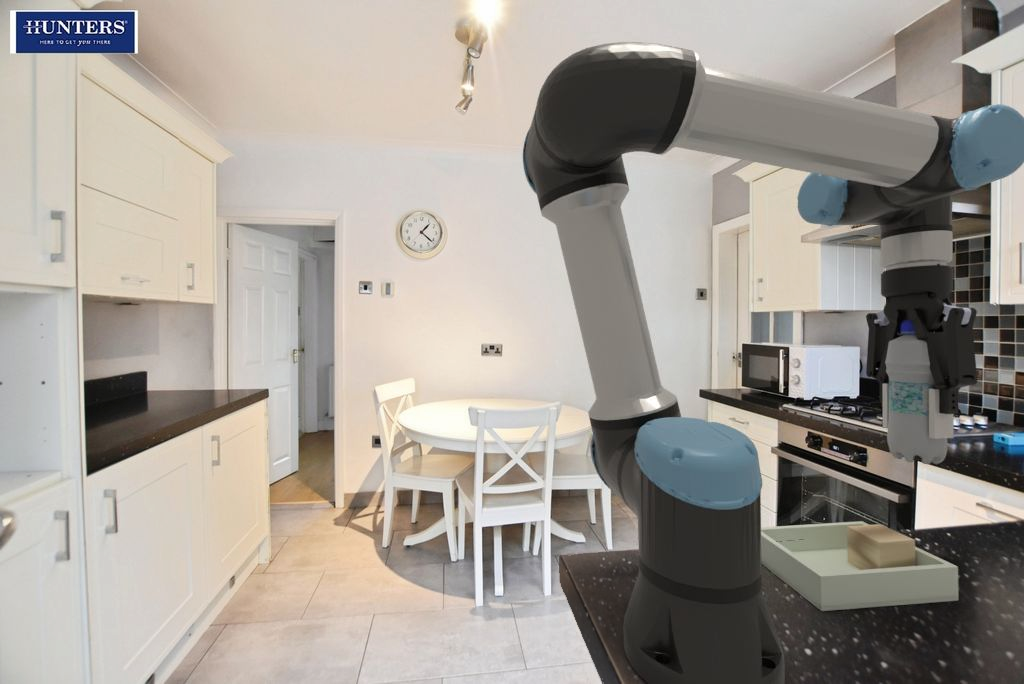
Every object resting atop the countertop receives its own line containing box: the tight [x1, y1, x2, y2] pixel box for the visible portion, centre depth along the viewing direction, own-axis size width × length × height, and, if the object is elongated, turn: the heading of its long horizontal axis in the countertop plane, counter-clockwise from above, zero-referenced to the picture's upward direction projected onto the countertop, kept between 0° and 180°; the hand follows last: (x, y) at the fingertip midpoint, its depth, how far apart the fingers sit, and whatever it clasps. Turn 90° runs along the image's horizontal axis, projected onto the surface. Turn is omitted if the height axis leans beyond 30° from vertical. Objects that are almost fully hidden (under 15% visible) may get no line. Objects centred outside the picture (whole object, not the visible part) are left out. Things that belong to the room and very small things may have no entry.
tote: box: [761, 520, 959, 612], centre depth 61 cm, size 18×14×4 cm
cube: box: [847, 523, 916, 570], centre depth 61 cm, size 5×5×5 cm
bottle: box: [885, 319, 948, 465], centre depth 63 cm, size 7×7×20 cm
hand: (916, 432), depth 63 cm, fingers closed on bottle, 6 cm apart
